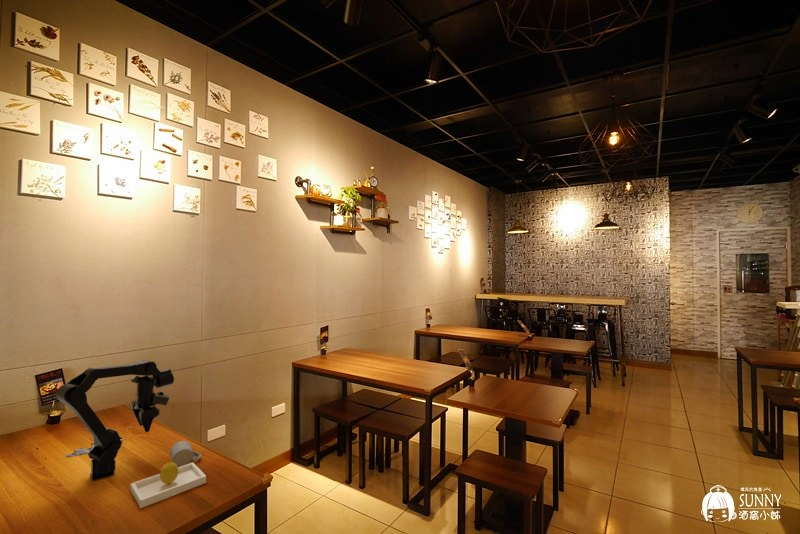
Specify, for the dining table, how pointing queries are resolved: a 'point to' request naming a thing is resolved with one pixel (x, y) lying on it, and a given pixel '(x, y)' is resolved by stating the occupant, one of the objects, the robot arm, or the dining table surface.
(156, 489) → the tray
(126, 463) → the dining table surface
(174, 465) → the lemon
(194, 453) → the ceramic mug
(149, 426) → the robot arm
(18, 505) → the dining table surface
